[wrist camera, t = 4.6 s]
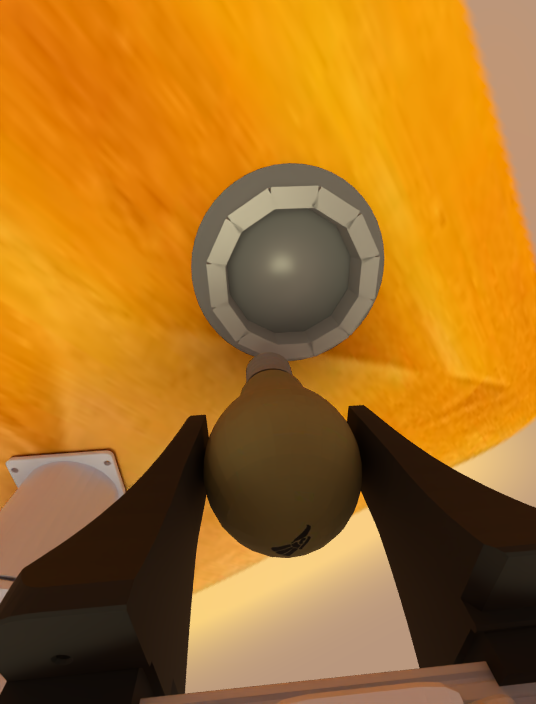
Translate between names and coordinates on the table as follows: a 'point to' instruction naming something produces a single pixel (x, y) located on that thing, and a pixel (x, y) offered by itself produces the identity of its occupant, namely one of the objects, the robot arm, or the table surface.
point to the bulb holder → (287, 261)
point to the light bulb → (281, 464)
